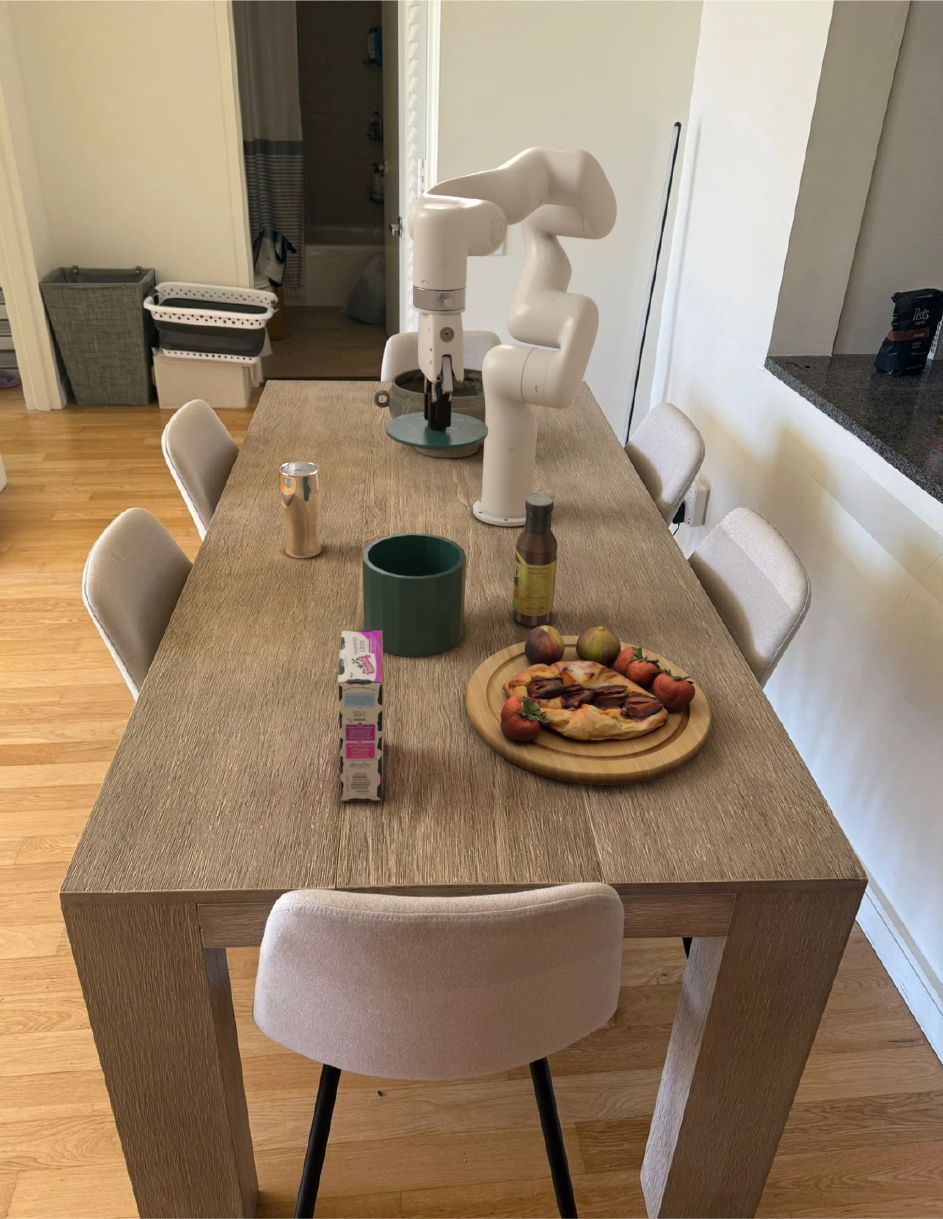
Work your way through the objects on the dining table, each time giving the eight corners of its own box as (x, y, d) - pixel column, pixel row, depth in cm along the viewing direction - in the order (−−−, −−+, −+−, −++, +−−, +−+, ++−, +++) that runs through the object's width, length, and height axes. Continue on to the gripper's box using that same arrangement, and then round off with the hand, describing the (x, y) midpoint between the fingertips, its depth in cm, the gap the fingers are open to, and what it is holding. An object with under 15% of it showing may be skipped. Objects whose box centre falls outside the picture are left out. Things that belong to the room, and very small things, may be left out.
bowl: (506, 426, 224) (509, 363, 216) (531, 466, 202) (536, 397, 194) (369, 428, 218) (368, 364, 211) (380, 470, 196) (379, 399, 189)
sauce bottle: (517, 604, 149) (526, 486, 139) (556, 612, 147) (567, 493, 137) (505, 623, 143) (513, 502, 134) (545, 632, 142) (555, 509, 132)
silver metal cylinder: (316, 561, 159) (312, 478, 152) (277, 556, 160) (271, 473, 153) (329, 544, 165) (326, 463, 158) (291, 539, 166) (286, 458, 159)
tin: (436, 598, 149) (437, 526, 143) (480, 643, 138) (484, 567, 132) (349, 617, 143) (347, 542, 137) (388, 666, 132) (387, 587, 126)
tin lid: (458, 413, 154) (460, 372, 151) (506, 444, 142) (508, 401, 139) (370, 425, 147) (369, 383, 144) (412, 459, 136) (412, 414, 132)
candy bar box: (384, 802, 108) (383, 682, 99) (340, 803, 107) (335, 683, 99) (384, 741, 117) (383, 628, 109) (343, 742, 117) (339, 628, 109)
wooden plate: (545, 822, 106) (550, 764, 102) (424, 677, 130) (424, 626, 126) (762, 747, 119) (775, 693, 115) (615, 629, 143) (622, 580, 139)
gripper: (480, 311, 129) (475, 440, 138) (450, 286, 142) (448, 405, 152) (426, 312, 127) (425, 443, 136) (401, 287, 140) (402, 407, 150)
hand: (437, 422), depth 144 cm, fingers closed on tin lid, 2 cm apart
